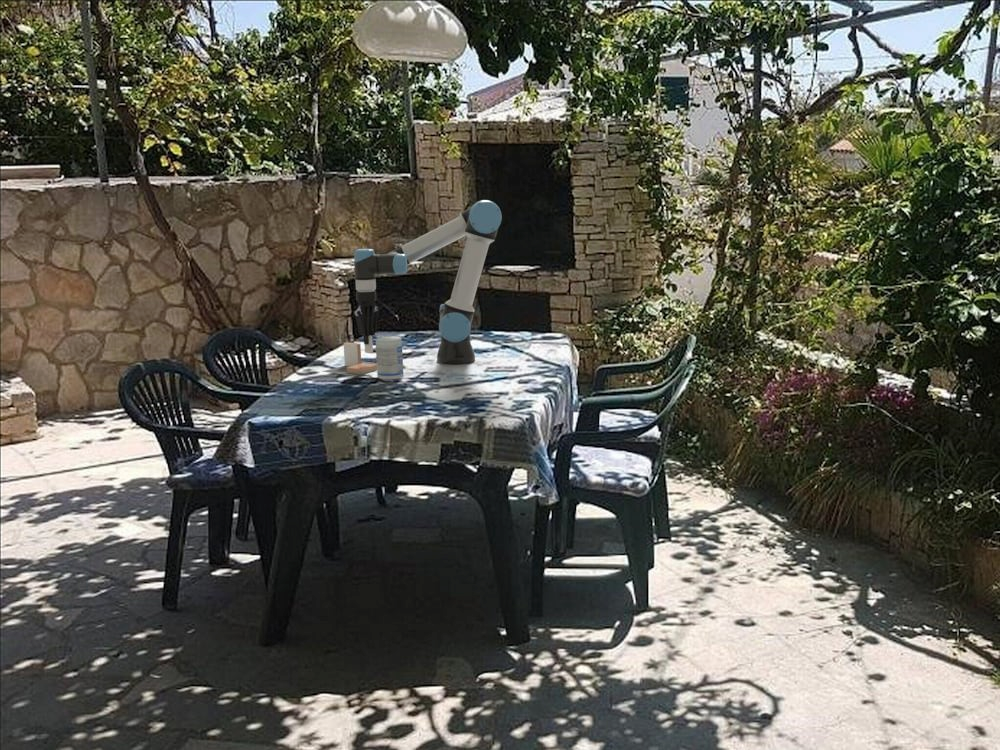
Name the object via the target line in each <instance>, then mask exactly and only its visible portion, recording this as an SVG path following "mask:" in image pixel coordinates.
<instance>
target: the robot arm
mask: <svg viewBox="0 0 1000 750" xmlns="http://www.w3.org/2000/svg"><path fill="white" fill-rule="evenodd" d="M502 219H503V215H502V211H501V209H500V206H498V204H496V203H495V202H494V201H491V200H488V199H481V200H478V201H476V202H475V203H474V204H472V205H471V206H469V207H468V208H467V209H465V210H464V211H462V212H460V213H459V215H458V216H457V217H456V218H454V219H452V220H450V221H448V222H446V223H444V224H442V225H440V226H438V227H436V228H434V229H432V230H431V231H429V232H427V233H425V234H422V235H420V236H418V237H417V238H415V239H413V240H411V241H409V242H407V243H405V244H403V245H401V246H399V247H397V248H395V249H394V250H391V251H388V252H387V253H386V254H385V253H384V254H383V253H382V254H379V253H375V250H374V249H373V248H359V249H356V250H355V251H354V254H353V255H354V259H353V260H354V261H353V265H354V279H355V290H356V292H355V297H356V298H355V299H356V302H357V309H356V310H353V315H354V317H355V320H356V321H355V322H356V325H357V331H358V334H359V335H361V336H363V344H364V353H366V354H371V353H373V354H374V347H373V346H374V345H373V344H374V336H375V335H376V333H377V332H378V323H379V315H380V311H381V307H379V306H377V304H376V301H377V291H376V289H377V282H376V275H402V274H403V275H404V274H407V272H408V265H411V264H412V263H415V262H417V261H418V260H421V259H422V258H424V257H426V256H428V255H430V254H432V253H434V252H437V251H439V250H440V249H442V248H444V247H446V246H447V245H450V244H453V243H454V242H456V241H458V240H459V239H462V238H464V237H466V240H465V246H464V247H463V248H464V249H463V252H462V255H461V260H460V263H459V267H458V270H457V274H456V277H455V280H454V281H455V282H454V284H453V288H452V291H451V296H450V299H448V300H447V301H445V302H444V303H441V304H440V306H439V322H438V331H439V333H440V344H439V346H438V347H439V348H438V352H437V355H436V361H437V363H439V364H446V365H463V364H470V363H473V362H475V360H476V355H475V352H474V349H473V346H472V344H471V331H472V329H471V326H472V322H473V318H474V316H475V311H476V310H475V308H474V306H473V304H474V301H475V296H476V293H477V290H478V286H479V282H480V279H481V275H482V271H483V269H484V264H485V261H486V257H487V253H488V250H489V247H490V244H492V243H493V242H495V241H496V240H495V239H496V237H497V234H498V229H499V228H500V226H501V223H502Z"/></svg>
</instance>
